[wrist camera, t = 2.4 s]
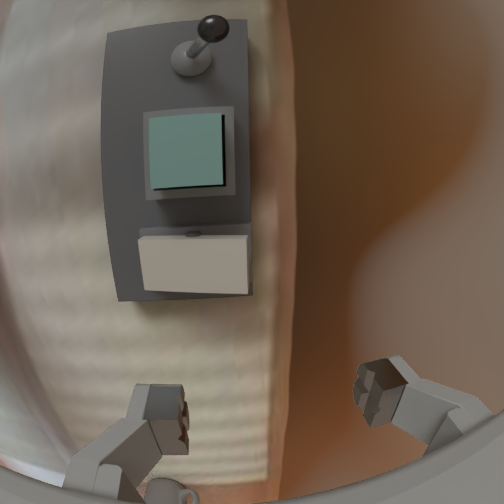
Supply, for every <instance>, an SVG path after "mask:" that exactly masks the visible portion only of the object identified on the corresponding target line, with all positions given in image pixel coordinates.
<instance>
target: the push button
mask: <svg viewBox="0 0 504 504" xmlns="http://www.w3.org/2000/svg"><path fill="white" fill-rule="evenodd" d="M149 160H150V182H151V189H156V188H169V187H183V186H200V185H219V184H223V170H222V123H221V113H206V114H189V115H176V116H165V117H155V118H149Z"/></svg>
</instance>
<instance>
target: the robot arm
mask: <svg viewBox="0 0 504 504" xmlns="http://www.w3.org/2000/svg"><path fill="white" fill-rule="evenodd" d="M357 375H358V376H359V378H358V379H357V380H356V381H355V382H354V386H353V397H354V400H355V402H356V405H357V406H358V407H359V408H361V409H363V410H364V412H363V417H364V419H365V420H366V422H367V424H368V425H369V427H370V428H372V427H375V426H379V425H382V424H386V423H389V422H391V423H392V424H394V425H395V426H397V427H399V428H400V429H402V430H404V431H405V432H407V433H409V434H411V435H412V436H414V437H416V438H417V439H419V440H421V441H422V442H424V443H426V444H428V445H429V446H428V448H427V449H426V451H425V452H424V454H423V456H422V457H421V458H419V459H417V460H414V461H412V462H410V463H407V464H405V465H403V466H400V467H398V468H396V469H393V470H390V471H388V472H385V473H382V474H380V475H377V476H374V477H371V478H368V479H365V480H362V481H359V482H356V483H352V484H349V485H346V486H342V487H338V488H335V489H331V490H327V491H323V492H319V493H315V494H310V495H305V496H300V497H295V498H289V499H283V500H277V501H270V502H262V503H253V504H504V409H503V410H502V411H500V412H499V413H497V414H496V415H495V416H494V415H493V414H492V413H491V411H490V410H489V409H488V408H487V407H486V406H485V405H484V404H483V403H482V402H481V401H480V400H479V399H478V398H477V397H476V396H473V395H470V394H467V393H464V392H461V391H458V390H455V389H452V388H449V387H447V386H444V385H441V384H438V383H435V382H432V381H430V380H427V379H422V380H421V379H420V378H419V377H418V376H417V374H416V373H415V372H414V371H413V370H412V369H411V368H410V367H409V366H408V364H406V362H405V361H404V360H403V359H402V358H401V357H400V356H399V355H394V356H390V357H386V358H384V359H379V360H375V361H371V362H366V363H362V364H360V365H359V366H358V369H357ZM184 397H185V392H184V388H183V385H182V384H136V385H135V386H134V390H133V393H132V397H131V400H130V404H129V408H128V411H127V415H126V419H124V418H121V419H120V420H119V421H117V422H116V423H115V424H113V425H112V426H111V427H110V428H108V429H107V430H106V431H105V432H103V433H102V434H101V435H99V436H98V437H97V438H96V439H94V440H93V441H92V442H90V443H89V444H88V445H86V446H85V447H84V448H82V449H81V450H80V451H79V452H77V453H76V454H75V455H73V456H72V458H71V461H70V464H69V467H68V470H67V473H66V476H65V479H64V482H63V486H62V488H61V487H58V486H55V485H51V484H48V483H45V482H42V481H39V480H36V479H34V478H31V477H28V476H25V475H23V474H20V473H18V472H15V471H13V470H10V469H8V468H6V467H4V466H1V465H0V504H146V502H145V501H144V500H143V499H142V497H141V496H140V495H139V493H138V492H137V490H136V488H137V486H138V485H139V484H140V483H141V482H142V481H143V479H144V478H145V477H146V476H147V475H148V473H149V472H150V471H151V470H152V469H153V467H154V466H155V465H156V464H157V462H158V461H159V460H160V459H161V457H162V455H188V453H189V438H188V434H187V431H188V430H189V411H188V406H187V402H185V401H184Z"/></svg>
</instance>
